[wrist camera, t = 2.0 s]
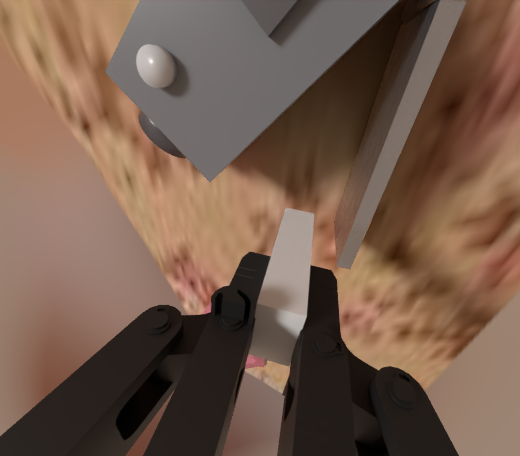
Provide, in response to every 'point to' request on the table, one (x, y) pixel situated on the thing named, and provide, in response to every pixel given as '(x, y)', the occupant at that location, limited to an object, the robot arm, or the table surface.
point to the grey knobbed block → (230, 67)
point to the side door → (393, 116)
